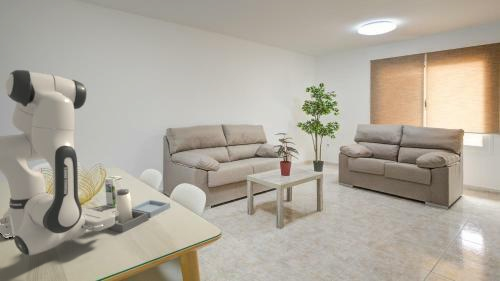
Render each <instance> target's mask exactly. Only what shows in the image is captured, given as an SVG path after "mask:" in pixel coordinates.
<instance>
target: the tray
mask: <svg viewBox="0 0 500 281" xmlns="http://www.w3.org/2000/svg"><path fill="white" fill-rule="evenodd" d="M131 207H132V210H135V211H140V212H145V213H148V218H152V217H155V216H156V215H158V214H160V212H161V213H162V212H165V211H167V210H169V209H170V208H171V203H170V202H166V201H161V200H156V199H155V200H154V199H149V200H146V201H145V202H142V203H140V204H137V205H135V206H131Z"/></svg>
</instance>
